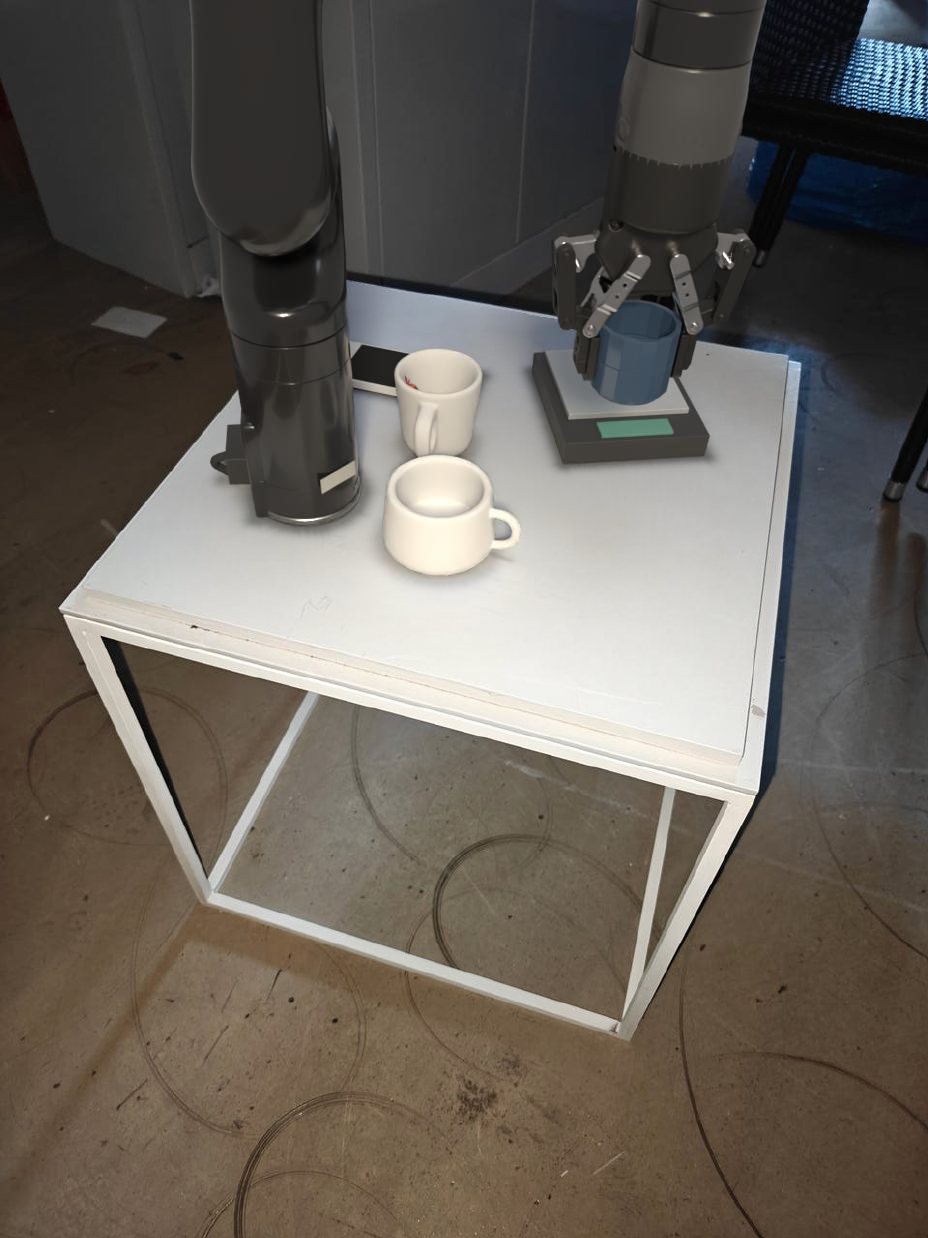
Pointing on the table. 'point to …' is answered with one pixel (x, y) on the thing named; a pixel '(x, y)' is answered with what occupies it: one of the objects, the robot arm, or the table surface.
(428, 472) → the mug
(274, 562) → the table surface
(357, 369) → the smartphone
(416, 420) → the cup
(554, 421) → the scale
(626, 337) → the dark blue tumbler
